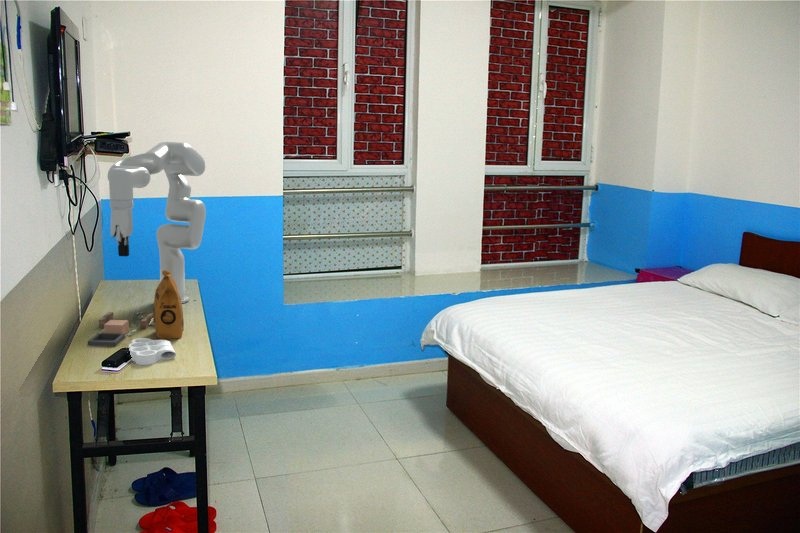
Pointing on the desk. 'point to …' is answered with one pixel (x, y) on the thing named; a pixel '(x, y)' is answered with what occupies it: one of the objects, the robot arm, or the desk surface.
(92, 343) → the grey shallow tray
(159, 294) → the coffee package
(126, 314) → the desk surface
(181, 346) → the desk surface
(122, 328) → the push block
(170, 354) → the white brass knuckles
